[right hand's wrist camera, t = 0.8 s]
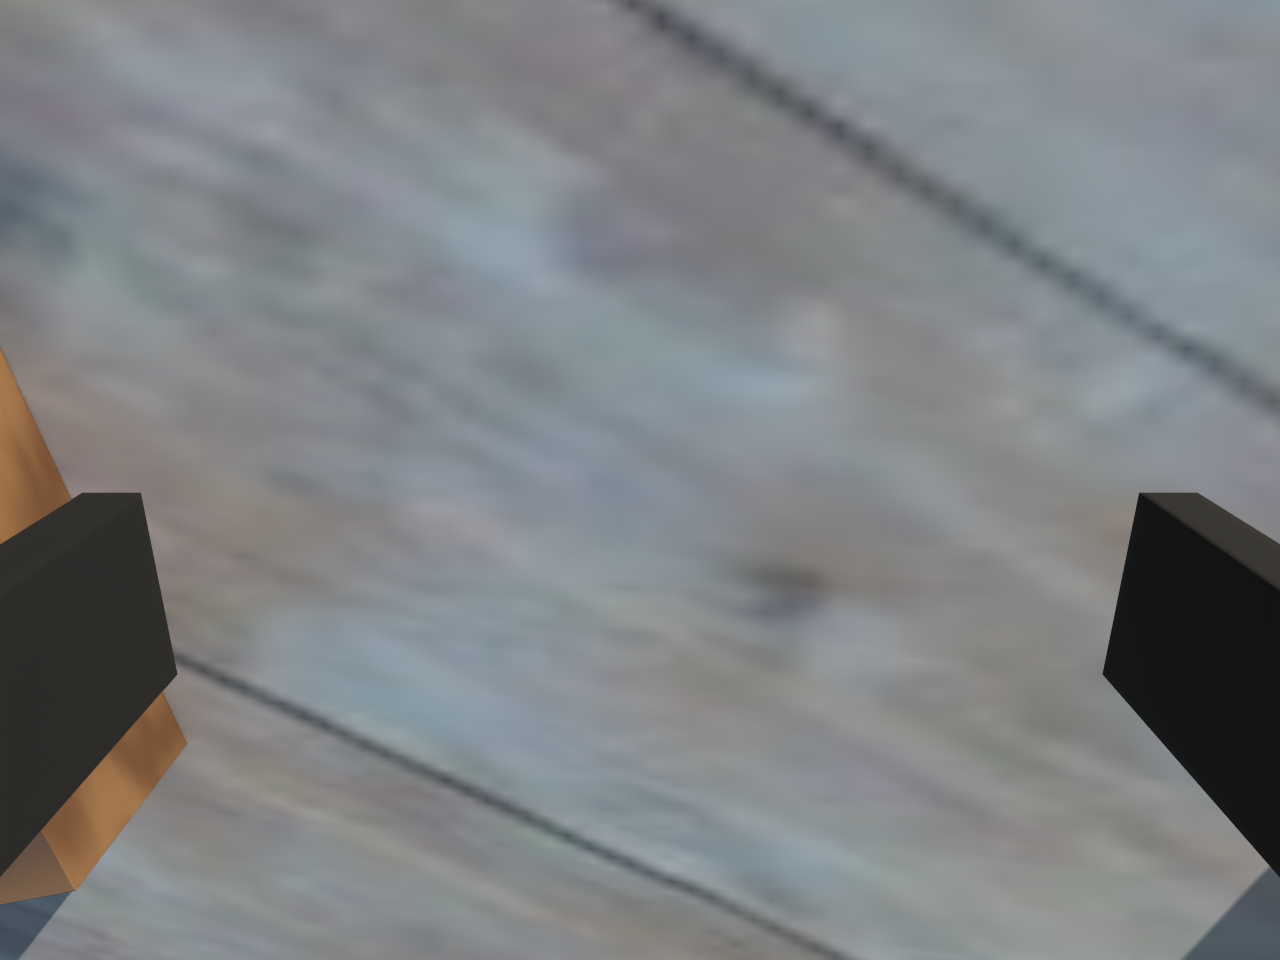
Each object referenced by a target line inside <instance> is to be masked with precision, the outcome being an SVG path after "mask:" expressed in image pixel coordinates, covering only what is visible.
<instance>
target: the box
mask: <svg viewBox="0 0 1280 960" xmlns="http://www.w3.org/2000/svg"><path fill="white" fill-rule="evenodd" d="M70 500H71V497H70V495H69V493H68V491H67V489H66V487H65V485H64V483H63V481H62V478H61V476H60V474H59V472H58V470H57V468H56V466H55V464H54V461H53V459H52V457H51V455H50V453H49V451H48V449H47V447H46V445H45V442H44V440H43V438H42V436H41V434H40V432H39V430H38V428H37V425H36V423H35V421H34V419H33V417H32V415H31V413H30V411H29V409H28V406H27V404H26V402H25V400H24V398H23V396H22V394H21V392H20V389H19V387H18V385H17V383H16V381H15V379H14V377H13V375H12V372H11V370H10V368H9V366H8V364H7V362H6V360H5V358H4V356H3V353H2V351H1V349H0V544H1V543H3V542H5V541H6V540H8V539H9V538H11V537H13V536H14V535H16V534H17V533H19V532H21V531H22V530H24V529H25V528H27V527H29V526H30V525H32V524H33V523H35V522H37V521H38V520H40V519H41V518H43V517H45V516H46V515H48V514H49V513H51V512H53V511H54V510H56V509H57V508H59V507H61V506H62V505H64V504H65V503H67V502H69V501H70ZM186 745H187V743H186V741H185V739H184V737H183V735H182V733H181V730H180V728H179V726H178V724H177V722H176V720H175V718H174V716H173V714H172V711H171V709H170V707H169V705H168V703H167V701H166V699H165V697H164V694H163V692H161V694H160V695H159V696H158V697H157V698H156V699H155V700H154V702H153V703H152V704H151V705H150V706H149V707H148V709H147V710H146V711H145V712H144V713H143V714H142V715H141V717H140V718H139V719H138V720H137V721H136V722H135V723H134V725H133V726H132V727H131V728H130V729H129V730H128V731H127V733H126V734H125V735H124V736H123V737H122V738H121V739H120V741H119V742H118V743H117V744H116V745H115V746H114V747H113V749H112V750H111V751H110V752H109V753H108V754H107V755H106V757H105V758H104V759H103V760H102V761H101V762H100V763H99V765H98V766H97V767H96V768H95V769H94V770H93V772H92V773H91V774H90V775H89V776H88V777H87V778H86V780H85V781H84V782H83V783H82V784H81V785H80V786H79V788H78V789H77V790H76V791H75V792H74V793H73V794H72V796H71V797H70V798H69V799H68V800H67V801H66V802H65V804H64V805H63V806H62V807H61V808H60V809H59V810H58V812H57V813H56V814H55V815H54V816H53V817H52V818H51V820H50V821H49V822H48V823H47V824H46V825H45V826H44V828H43V829H42V830H41V831H40V832H39V833H38V835H37V836H36V837H35V838H34V839H33V840H32V841H31V843H30V844H29V845H28V846H27V847H26V848H25V849H24V851H23V852H22V853H21V854H20V855H19V856H18V857H17V859H16V860H15V861H14V862H13V863H12V864H11V865H10V867H9V868H8V869H7V870H6V871H5V872H4V873H3V875H2V876H1V877H0V905H2V904H8V903H13V902H18V901H24V900H29V899H34V898H40V897H45V896H51V895H56V894H61V893H67V892H72V891H76V890H77V888H78V887H79V886H80V885H81V883H82V882H83V881H84V879H85V878H86V877H87V875H88V874H89V873H90V871H91V870H92V869H93V867H94V866H95V865H96V863H97V862H98V861H99V859H100V858H101V857H102V855H103V854H104V853H105V852H106V850H107V849H108V848H109V846H110V845H111V844H112V842H113V841H114V840H115V838H116V837H117V836H118V834H119V833H120V832H121V830H122V829H123V828H124V826H125V825H126V824H127V822H128V821H129V820H130V819H131V817H132V816H133V815H134V813H135V812H136V811H137V809H138V808H139V807H140V805H141V804H142V803H143V801H144V800H145V799H146V797H147V796H148V795H149V793H150V792H151V791H152V789H153V788H154V787H155V786H156V784H157V783H158V782H159V780H160V779H161V778H162V776H163V775H164V774H165V772H166V771H167V770H168V768H169V767H170V766H171V764H172V763H173V762H174V760H175V759H176V758H177V756H178V755H179V754H180V753H181V751H182V750H183V749H184V747H185V746H186Z"/></svg>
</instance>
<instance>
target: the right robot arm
mask: <svg viewBox="0 0 1280 960" xmlns="http://www.w3.org/2000/svg"><path fill="white" fill-rule="evenodd" d="M176 675H177V670H176V665H175V660H174V655H173V650H172V645H171V640H170V635H169V630H168V625H167V620H166V615H165V610H164V606H163V601H162V596H161V591H160V586H159V581H158V576H157V571H156V566H155V561H154V556H153V551H152V546H151V541H150V536H149V531H148V526H147V521H146V516H145V511H144V506H143V501H142V496H141V493H81V494H80V495H78V496H77V497H75V498H73V499H72V500H70V501H69V502H67V503H65V504H64V505H62V506H61V507H59V508H57V509H56V510H54V511H53V512H51V513H49V514H48V515H46V516H45V517H43V518H41V519H40V520H38V521H37V522H35V523H33V524H32V525H30V526H29V527H27V528H25V529H24V530H22V531H21V532H19V533H17V534H16V535H14V536H13V537H11V538H9V539H8V540H6V541H5V542H3V543H1V544H0V877H1V876H2V875H3V873H4V872H5V871H6V870H7V869H8V868H9V867H10V865H11V864H12V863H13V862H14V861H15V860H16V859H17V857H18V856H19V855H20V854H21V853H22V852H23V851H24V849H25V848H26V847H27V846H28V845H29V844H30V843H31V841H32V840H33V839H34V838H35V837H36V836H37V835H38V833H39V832H40V831H41V830H42V829H43V828H44V826H45V825H46V824H47V823H48V822H49V821H50V820H51V818H52V817H53V816H54V815H55V814H56V813H57V812H58V810H59V809H60V808H61V807H62V806H63V805H64V804H65V802H66V801H67V800H68V799H69V798H70V797H71V796H72V794H73V793H74V792H75V791H76V790H77V789H78V788H79V786H80V785H81V784H82V783H83V782H84V781H85V780H86V778H87V777H88V776H89V775H90V774H91V773H92V772H93V770H94V769H95V768H96V767H97V766H98V765H99V763H100V762H101V761H102V760H103V759H104V758H105V757H106V755H107V754H108V753H109V752H110V751H111V750H112V749H113V747H114V746H115V745H116V744H117V743H118V742H119V741H120V739H121V738H122V737H123V736H124V735H125V734H126V733H127V731H128V730H129V729H130V728H131V727H132V726H133V725H134V723H135V722H136V721H137V720H138V719H139V718H140V717H141V715H142V714H143V713H144V712H145V711H146V710H147V709H148V707H149V706H150V705H151V704H152V703H153V702H154V700H155V699H156V698H157V697H158V696H159V695H160V694H161V692H162V691H163V690H164V689H165V688H166V687H167V686H168V684H169V683H170V682H171V681H172V680H173V679H174V678H175V676H176ZM1103 675H1104V676H1105V678H1106V679H1107V680H1108V681H1109V682H1110V683H1111V684H1112V686H1113V687H1114V688H1115V689H1116V690H1117V691H1118V692H1119V694H1120V695H1121V696H1122V697H1123V698H1124V699H1125V700H1126V702H1127V703H1128V704H1129V705H1130V706H1131V707H1132V709H1133V710H1134V711H1135V712H1136V713H1137V714H1138V715H1139V717H1140V718H1141V719H1142V720H1143V721H1144V722H1145V723H1146V725H1147V726H1148V727H1149V728H1150V729H1151V730H1152V731H1153V733H1154V734H1155V735H1156V736H1157V737H1158V738H1159V739H1160V741H1161V742H1162V743H1163V744H1164V745H1165V746H1166V747H1167V749H1168V750H1169V751H1170V752H1171V753H1172V754H1173V755H1174V757H1175V758H1176V759H1177V760H1178V761H1179V762H1180V763H1181V765H1182V766H1183V767H1184V768H1185V769H1186V770H1187V772H1188V773H1189V774H1190V775H1191V776H1192V777H1193V778H1194V780H1195V781H1196V782H1197V783H1198V784H1199V785H1200V786H1201V788H1202V789H1203V790H1204V791H1205V792H1206V793H1207V794H1208V796H1209V797H1210V798H1211V799H1212V800H1213V801H1214V802H1215V804H1216V805H1217V806H1218V807H1219V808H1220V809H1221V810H1222V812H1223V813H1224V814H1225V815H1226V816H1227V817H1228V818H1229V820H1230V821H1231V822H1232V823H1233V824H1234V825H1235V826H1236V828H1237V829H1238V830H1239V831H1240V832H1241V833H1242V835H1243V836H1244V837H1245V838H1246V839H1247V840H1248V841H1249V843H1250V844H1251V845H1252V846H1253V847H1254V848H1255V849H1256V851H1257V852H1258V853H1259V854H1260V855H1261V856H1262V857H1263V859H1264V860H1265V861H1266V862H1267V863H1268V864H1269V865H1270V867H1271V868H1272V869H1273V870H1274V871H1275V872H1276V873H1277V875H1278V876H1279V877H1280V544H1279V543H1277V542H1275V541H1274V540H1272V539H1271V538H1269V537H1267V536H1266V535H1264V534H1263V533H1261V532H1259V531H1258V530H1256V529H1255V528H1253V527H1251V526H1250V525H1248V524H1247V523H1245V522H1243V521H1242V520H1240V519H1239V518H1237V517H1235V516H1234V515H1232V514H1231V513H1229V512H1227V511H1226V510H1224V509H1223V508H1221V507H1219V506H1218V505H1216V504H1215V503H1213V502H1211V501H1210V500H1208V499H1207V498H1205V497H1203V496H1202V495H1200V494H1199V493H1139V496H1138V501H1137V506H1136V511H1135V516H1134V521H1133V526H1132V531H1131V536H1130V541H1129V546H1128V551H1127V556H1126V561H1125V566H1124V571H1123V576H1122V581H1121V586H1120V591H1119V596H1118V601H1117V606H1116V610H1115V615H1114V620H1113V625H1112V630H1111V635H1110V640H1109V645H1108V650H1107V655H1106V660H1105V665H1104V670H1103Z"/></svg>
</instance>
